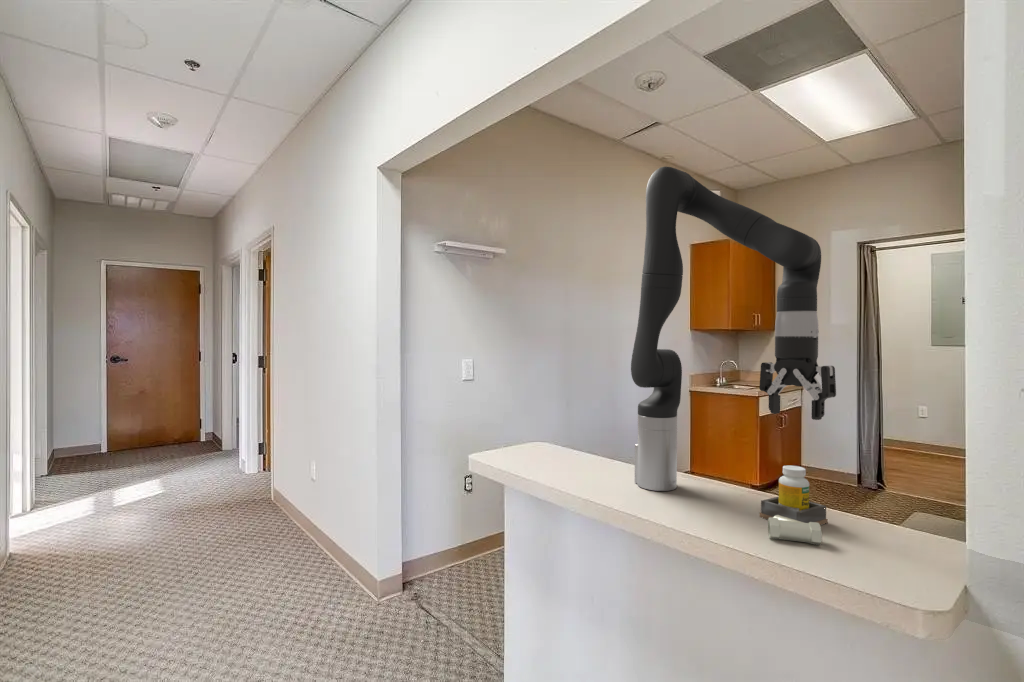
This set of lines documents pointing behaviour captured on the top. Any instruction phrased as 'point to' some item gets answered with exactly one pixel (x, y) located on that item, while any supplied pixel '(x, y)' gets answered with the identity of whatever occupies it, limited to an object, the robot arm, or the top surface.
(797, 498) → the supplement bottle
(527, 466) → the top surface
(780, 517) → the pipe fitting
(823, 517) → the square holder
